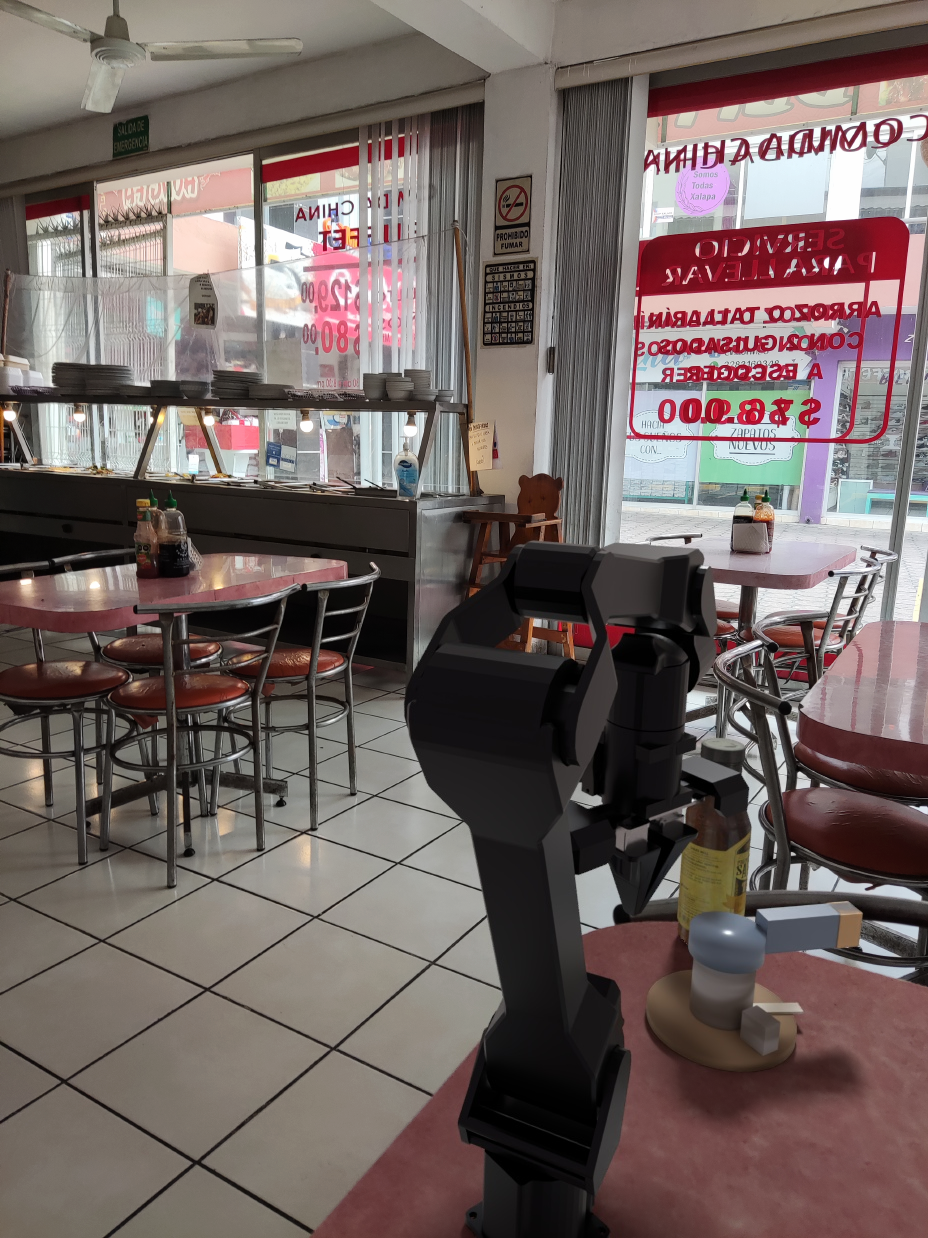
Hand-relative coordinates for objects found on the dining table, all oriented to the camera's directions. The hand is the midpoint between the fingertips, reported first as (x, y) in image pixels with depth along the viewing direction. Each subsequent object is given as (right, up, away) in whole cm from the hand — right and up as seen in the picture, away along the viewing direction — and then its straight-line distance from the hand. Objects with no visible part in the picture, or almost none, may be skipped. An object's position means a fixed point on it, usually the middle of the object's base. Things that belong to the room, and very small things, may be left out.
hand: (632, 912), depth 68 cm
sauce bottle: (+11, -9, +19) cm, 24 cm away
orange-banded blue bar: (+13, -5, +6) cm, 15 cm away
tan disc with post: (+9, -11, +7) cm, 16 cm away
